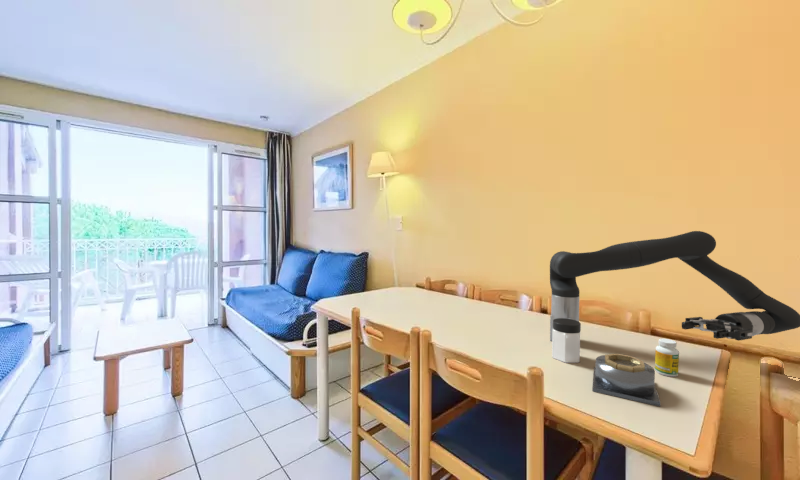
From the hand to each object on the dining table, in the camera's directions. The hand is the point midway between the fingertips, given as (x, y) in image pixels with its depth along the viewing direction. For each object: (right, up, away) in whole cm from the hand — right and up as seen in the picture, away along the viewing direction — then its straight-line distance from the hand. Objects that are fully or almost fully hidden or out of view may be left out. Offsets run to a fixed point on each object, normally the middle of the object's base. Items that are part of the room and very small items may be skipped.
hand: (698, 330), depth 97 cm
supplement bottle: (-11, -12, -2) cm, 17 cm away
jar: (-35, -12, +9) cm, 38 cm away
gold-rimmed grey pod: (-29, -13, -10) cm, 33 cm away
